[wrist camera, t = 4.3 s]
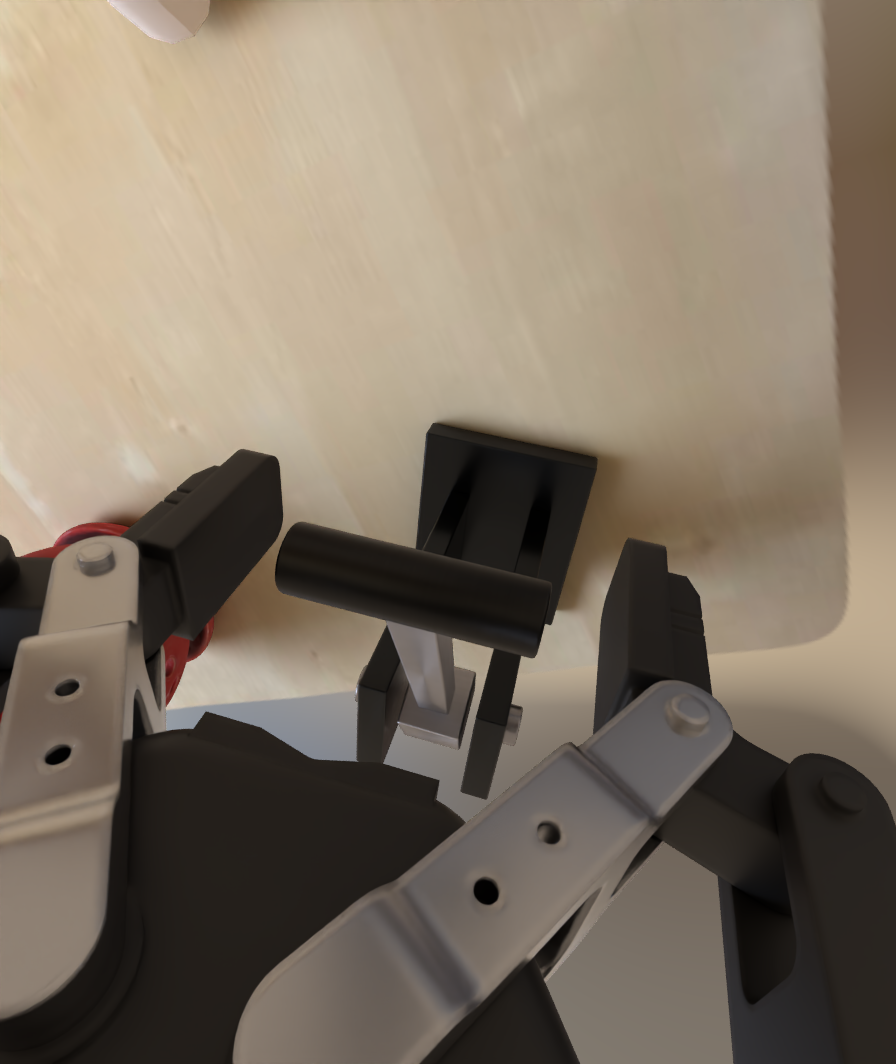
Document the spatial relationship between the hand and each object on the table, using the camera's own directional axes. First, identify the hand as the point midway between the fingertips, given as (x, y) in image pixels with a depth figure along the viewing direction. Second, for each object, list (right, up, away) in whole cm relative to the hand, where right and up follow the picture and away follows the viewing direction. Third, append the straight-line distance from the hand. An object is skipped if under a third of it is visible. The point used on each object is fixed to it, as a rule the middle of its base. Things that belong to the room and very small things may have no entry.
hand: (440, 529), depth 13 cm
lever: (0, -3, +5) cm, 5 cm away
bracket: (+3, 0, +19) cm, 19 cm away
